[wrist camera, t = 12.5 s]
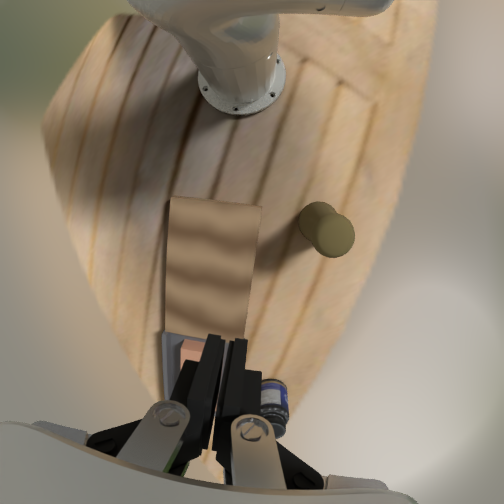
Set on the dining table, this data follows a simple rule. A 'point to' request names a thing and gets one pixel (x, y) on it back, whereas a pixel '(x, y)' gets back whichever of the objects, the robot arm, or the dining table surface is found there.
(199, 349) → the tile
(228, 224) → the board
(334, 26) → the dining table surface
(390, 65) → the dining table surface
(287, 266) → the dining table surface
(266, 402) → the pill bottle
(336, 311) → the dining table surface
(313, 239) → the cork
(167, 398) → the tray
